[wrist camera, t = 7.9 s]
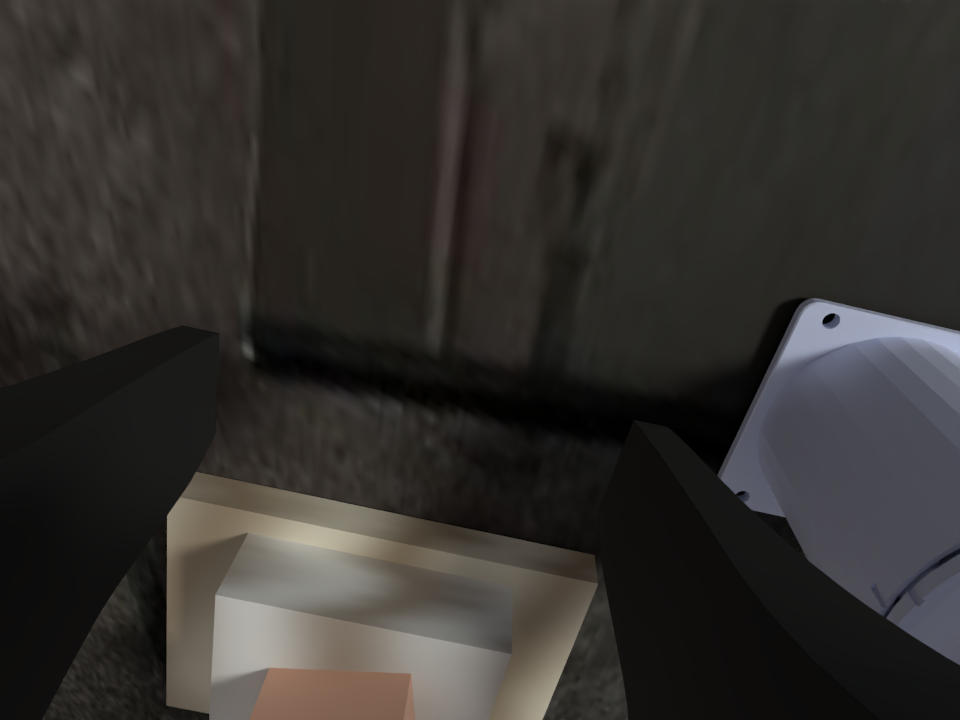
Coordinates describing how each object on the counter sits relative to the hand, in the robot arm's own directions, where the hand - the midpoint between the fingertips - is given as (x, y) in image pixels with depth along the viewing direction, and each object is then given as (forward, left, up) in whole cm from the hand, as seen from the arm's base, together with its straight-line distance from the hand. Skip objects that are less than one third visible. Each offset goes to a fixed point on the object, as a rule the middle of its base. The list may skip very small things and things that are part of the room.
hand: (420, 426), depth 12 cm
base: (+1, +17, -10) cm, 20 cm away
